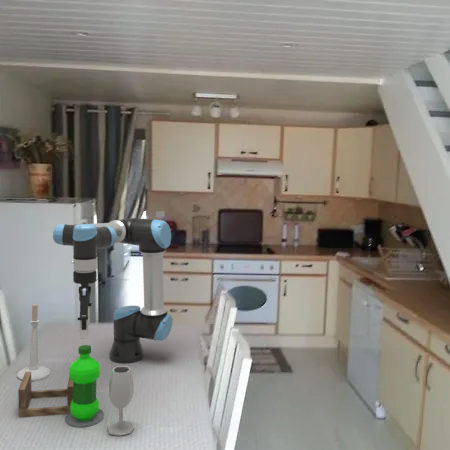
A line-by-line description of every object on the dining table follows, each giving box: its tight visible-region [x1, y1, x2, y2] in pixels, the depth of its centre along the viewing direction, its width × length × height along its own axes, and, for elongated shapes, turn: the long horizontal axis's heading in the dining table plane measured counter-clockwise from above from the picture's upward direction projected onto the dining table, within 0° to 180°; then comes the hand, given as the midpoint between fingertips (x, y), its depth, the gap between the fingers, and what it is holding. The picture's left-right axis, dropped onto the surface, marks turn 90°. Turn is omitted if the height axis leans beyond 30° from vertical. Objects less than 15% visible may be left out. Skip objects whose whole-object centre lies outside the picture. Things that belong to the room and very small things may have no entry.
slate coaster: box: [64, 408, 105, 428], centre depth 172 cm, size 13×13×1 cm
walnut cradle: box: [17, 372, 73, 419], centre depth 179 cm, size 18×15×10 cm
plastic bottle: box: [68, 344, 101, 421], centre depth 170 cm, size 10×10×25 cm
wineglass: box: [106, 365, 135, 437], centre depth 164 cm, size 9×9×21 cm
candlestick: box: [16, 303, 51, 382], centre depth 203 cm, size 13×13×30 cm
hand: (84, 331), depth 169 cm, fingers open, 13 cm apart
